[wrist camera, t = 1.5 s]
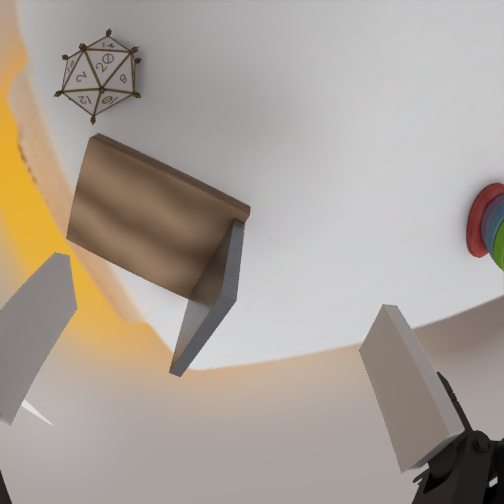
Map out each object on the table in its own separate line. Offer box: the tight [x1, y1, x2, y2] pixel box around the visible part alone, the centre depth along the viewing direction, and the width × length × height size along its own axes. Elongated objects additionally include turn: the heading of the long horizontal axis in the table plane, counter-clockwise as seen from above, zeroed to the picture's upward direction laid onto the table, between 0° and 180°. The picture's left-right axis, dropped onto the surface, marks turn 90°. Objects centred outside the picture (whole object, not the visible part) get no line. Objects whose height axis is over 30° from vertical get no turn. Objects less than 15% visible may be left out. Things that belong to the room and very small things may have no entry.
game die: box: [54, 28, 141, 125], centre depth 21 cm, size 9×8×10 cm
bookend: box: [169, 218, 245, 377], centre depth 29 cm, size 12×1×12 cm, turn 151°
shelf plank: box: [66, 134, 250, 299], centre depth 33 cm, size 14×19×2 cm
